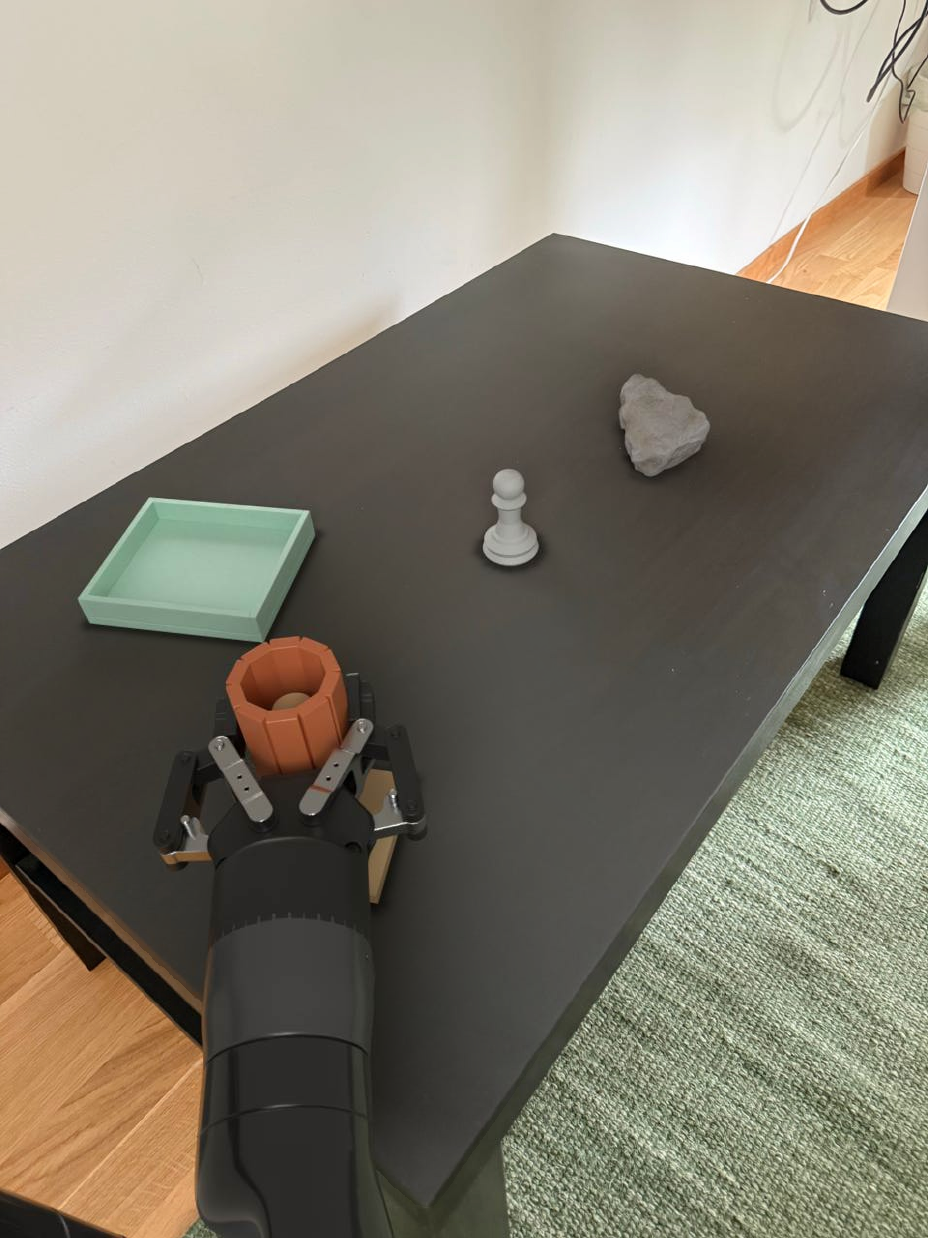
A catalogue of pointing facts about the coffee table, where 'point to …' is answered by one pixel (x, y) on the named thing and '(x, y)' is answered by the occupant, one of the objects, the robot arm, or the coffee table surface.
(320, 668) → the ring collar
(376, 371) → the coffee table surface
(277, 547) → the tray
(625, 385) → the stone
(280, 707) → the peg stand
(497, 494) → the chess piece
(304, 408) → the coffee table surface
